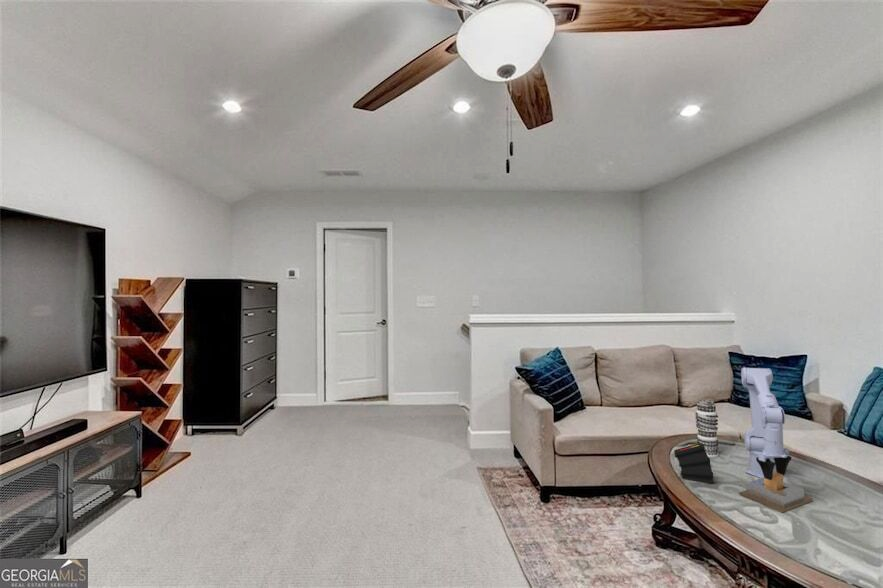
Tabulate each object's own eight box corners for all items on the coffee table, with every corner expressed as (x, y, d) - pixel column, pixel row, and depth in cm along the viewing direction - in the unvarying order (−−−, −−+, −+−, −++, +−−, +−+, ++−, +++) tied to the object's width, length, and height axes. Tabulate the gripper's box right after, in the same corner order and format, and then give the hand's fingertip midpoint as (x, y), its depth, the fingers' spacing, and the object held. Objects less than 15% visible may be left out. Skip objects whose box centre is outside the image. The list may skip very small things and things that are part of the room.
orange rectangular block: (771, 491, 154) (770, 470, 154) (783, 496, 151) (782, 474, 151) (764, 493, 153) (764, 472, 153) (776, 498, 149) (776, 476, 149)
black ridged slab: (722, 482, 162) (702, 445, 165) (688, 490, 168) (668, 454, 171) (722, 478, 165) (701, 442, 168) (688, 486, 171) (669, 451, 175)
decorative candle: (721, 452, 194) (719, 400, 194) (717, 459, 187) (715, 404, 187) (698, 448, 200) (697, 397, 200) (694, 454, 193) (692, 401, 193)
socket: (769, 485, 161) (768, 473, 161) (812, 501, 148) (812, 488, 148) (739, 495, 155) (739, 483, 155) (782, 512, 142) (781, 499, 142)
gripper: (773, 447, 145) (774, 485, 145) (797, 440, 151) (799, 477, 151) (751, 440, 152) (753, 477, 152) (776, 434, 157) (777, 469, 157)
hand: (774, 476), depth 152 cm, fingers open, 7 cm apart
